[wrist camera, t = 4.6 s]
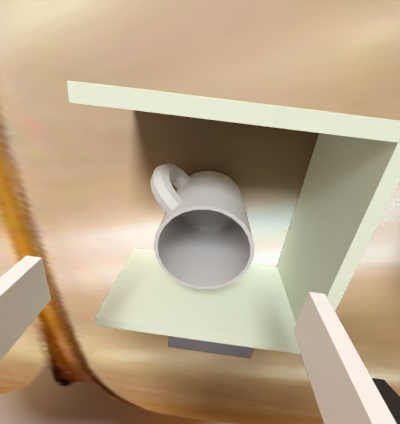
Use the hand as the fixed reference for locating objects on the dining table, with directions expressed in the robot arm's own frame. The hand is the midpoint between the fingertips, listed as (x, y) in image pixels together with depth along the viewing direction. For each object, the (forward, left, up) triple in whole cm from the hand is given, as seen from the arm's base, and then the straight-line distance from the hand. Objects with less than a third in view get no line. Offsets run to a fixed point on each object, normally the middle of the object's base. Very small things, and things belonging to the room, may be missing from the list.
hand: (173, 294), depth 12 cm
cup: (0, 0, -15) cm, 15 cm away
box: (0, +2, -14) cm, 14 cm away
